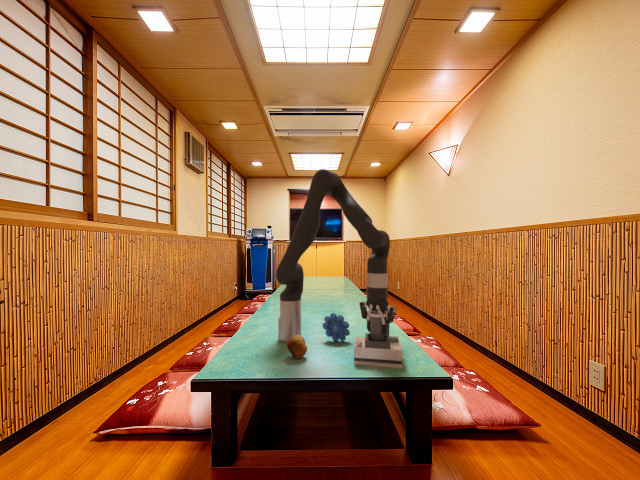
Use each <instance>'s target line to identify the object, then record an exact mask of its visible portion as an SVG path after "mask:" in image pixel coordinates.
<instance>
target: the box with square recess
mask: <svg viewBox="0 0 640 480" xmlns="http://www.w3.org/2000/svg"><path fill="white" fill-rule="evenodd" d="M354 339H355V340H354V343H353V344H354V345H353V365H355V366H366V367H368V366H370V367H380V368H381V367H382V368H392V369H393V368H395V369H403V349H402V345H401V342H400V339H399V336H392V335H391V336H390V334H389V335H388V334H385V335H384V341H377V340H370V332H369V333H367V332H365V337H364V336H363V337H362V336H355V338H354Z"/></svg>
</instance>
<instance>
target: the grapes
mask: <svg viewBox="0 0 640 480" xmlns="http://www.w3.org/2000/svg"><path fill="white" fill-rule="evenodd" d="M323 318H324V322H323V323H322V328H323V330H325V335H326V337H328V338H330V337H331V339H332V341H334V342H338V341H339V340H340V341H341V342H344V341H346V338H347V337H348V336H350V335H351V334H350V333H351V332H350V329H349V328H350V323H349V322H348V321H347V320H345V318H344V316H343V315H341V314H338V315H337V314H336V313H335V312H331V313H330V314H329V315H326V316H324V317H323Z"/></svg>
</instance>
